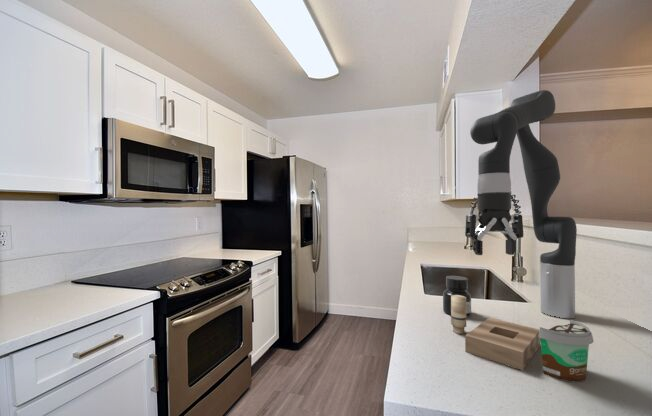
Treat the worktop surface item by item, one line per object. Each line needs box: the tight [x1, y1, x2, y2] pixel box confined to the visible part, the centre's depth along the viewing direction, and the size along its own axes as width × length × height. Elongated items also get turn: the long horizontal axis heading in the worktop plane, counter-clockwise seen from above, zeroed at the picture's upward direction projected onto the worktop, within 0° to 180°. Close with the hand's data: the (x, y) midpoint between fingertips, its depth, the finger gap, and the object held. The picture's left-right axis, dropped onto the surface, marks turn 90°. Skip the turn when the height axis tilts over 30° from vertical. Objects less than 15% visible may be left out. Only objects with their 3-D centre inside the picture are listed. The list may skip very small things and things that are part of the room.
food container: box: [538, 319, 594, 383], centre depth 61 cm, size 12×6×10 cm, turn 114°
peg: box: [450, 295, 468, 335], centre depth 83 cm, size 4×4×10 cm
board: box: [464, 317, 541, 371], centre depth 73 cm, size 18×12×4 cm, turn 133°
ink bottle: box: [442, 275, 472, 317], centre depth 99 cm, size 10×9×12 cm
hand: (494, 254), depth 74 cm, fingers open, 8 cm apart
